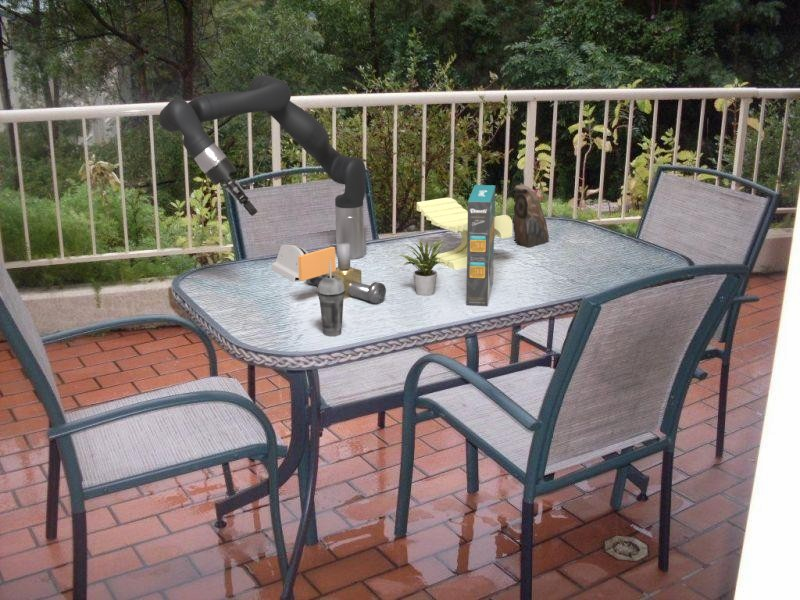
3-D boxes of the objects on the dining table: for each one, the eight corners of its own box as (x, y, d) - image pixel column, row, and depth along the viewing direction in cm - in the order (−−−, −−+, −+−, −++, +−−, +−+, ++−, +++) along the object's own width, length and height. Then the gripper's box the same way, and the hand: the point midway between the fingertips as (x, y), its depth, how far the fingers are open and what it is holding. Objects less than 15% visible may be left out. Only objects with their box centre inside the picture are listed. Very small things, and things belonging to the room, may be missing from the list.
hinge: (270, 268, 297) (278, 238, 295) (282, 271, 299) (291, 241, 298) (293, 282, 283) (301, 250, 282) (306, 284, 286) (315, 253, 285)
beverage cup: (346, 327, 245) (344, 255, 239) (346, 337, 238) (344, 263, 232) (319, 328, 245) (316, 255, 239) (317, 338, 238) (315, 264, 232)
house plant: (422, 281, 283) (422, 229, 278) (459, 290, 275) (460, 236, 269) (392, 293, 273) (392, 239, 267) (430, 302, 264) (430, 247, 259)
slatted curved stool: (510, 267, 296) (512, 213, 290) (471, 276, 288) (472, 220, 282) (454, 246, 320) (455, 196, 314) (416, 254, 311) (416, 202, 305)
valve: (321, 281, 284) (320, 257, 282) (387, 300, 266) (387, 275, 264) (304, 286, 279) (303, 262, 277) (370, 306, 261) (370, 281, 259)
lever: (344, 265, 272) (343, 241, 270) (352, 267, 270) (352, 244, 268) (296, 279, 259) (295, 255, 257) (304, 282, 257) (303, 257, 255)
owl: (528, 249, 316) (530, 191, 310) (499, 242, 325) (501, 186, 318) (550, 241, 325) (553, 185, 318) (522, 235, 333) (524, 180, 327)
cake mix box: (473, 281, 282) (474, 184, 272) (492, 282, 281) (495, 185, 272) (466, 305, 262) (467, 201, 252) (487, 306, 261) (490, 202, 251)
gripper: (204, 172, 260) (243, 221, 264) (203, 172, 247) (245, 223, 251) (225, 156, 261) (264, 205, 264) (226, 155, 248) (266, 206, 251)
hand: (254, 213), depth 258 cm, fingers closed
